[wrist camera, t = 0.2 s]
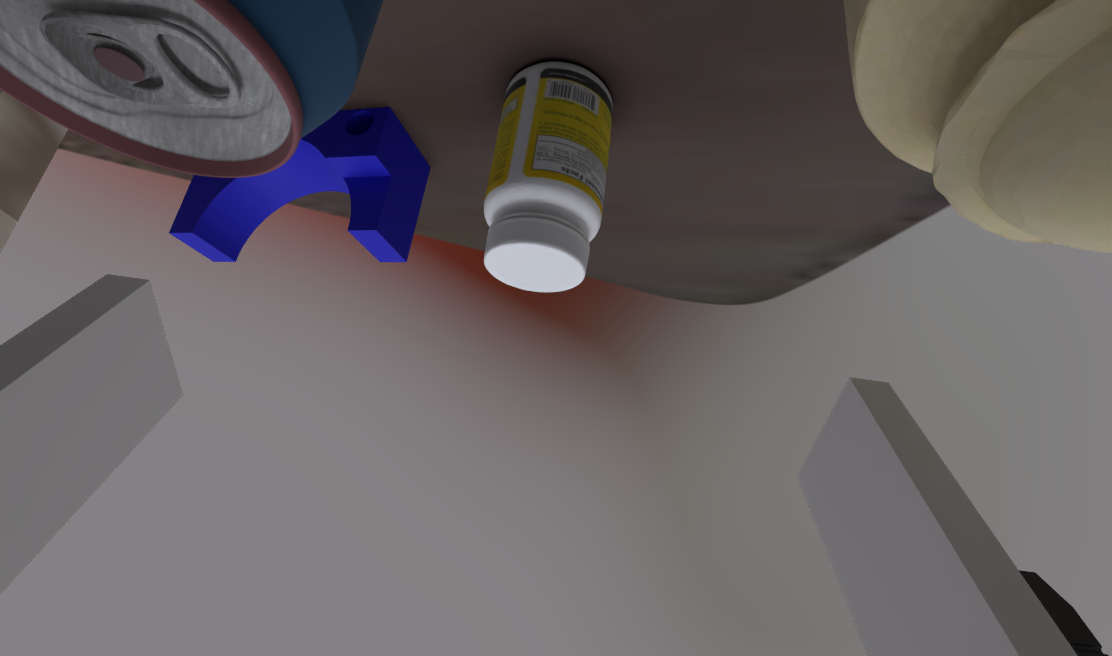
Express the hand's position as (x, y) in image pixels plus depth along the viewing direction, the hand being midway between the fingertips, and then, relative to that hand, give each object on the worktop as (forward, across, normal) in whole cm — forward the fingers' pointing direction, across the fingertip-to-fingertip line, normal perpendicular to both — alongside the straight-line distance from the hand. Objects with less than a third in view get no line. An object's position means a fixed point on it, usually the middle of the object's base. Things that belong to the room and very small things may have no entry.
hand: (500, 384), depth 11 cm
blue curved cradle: (+22, -13, -3) cm, 25 cm away
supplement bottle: (+18, 0, +2) cm, 18 cm away
